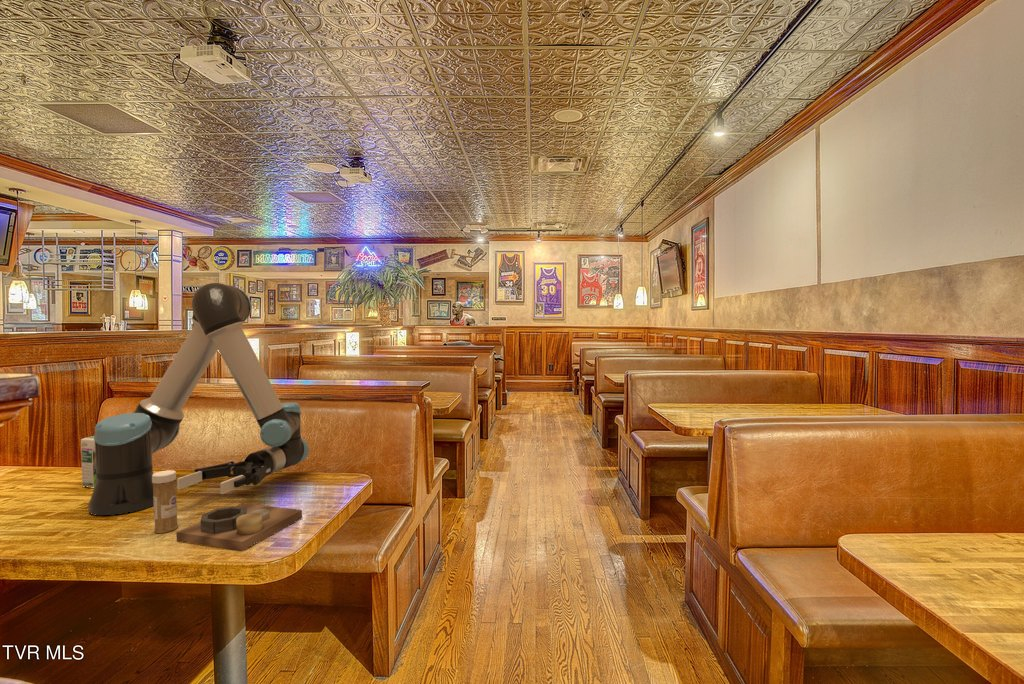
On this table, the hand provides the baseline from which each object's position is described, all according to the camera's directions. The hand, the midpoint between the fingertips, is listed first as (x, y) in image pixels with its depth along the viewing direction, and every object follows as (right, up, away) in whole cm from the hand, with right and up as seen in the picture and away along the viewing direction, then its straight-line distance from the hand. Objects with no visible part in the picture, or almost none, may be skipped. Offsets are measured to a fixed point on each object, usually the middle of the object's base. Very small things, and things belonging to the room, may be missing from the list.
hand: (199, 486), depth 122 cm
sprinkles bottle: (-3, -8, -8) cm, 11 cm away
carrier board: (+15, -8, -8) cm, 19 cm away
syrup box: (-45, -7, +25) cm, 52 cm away
